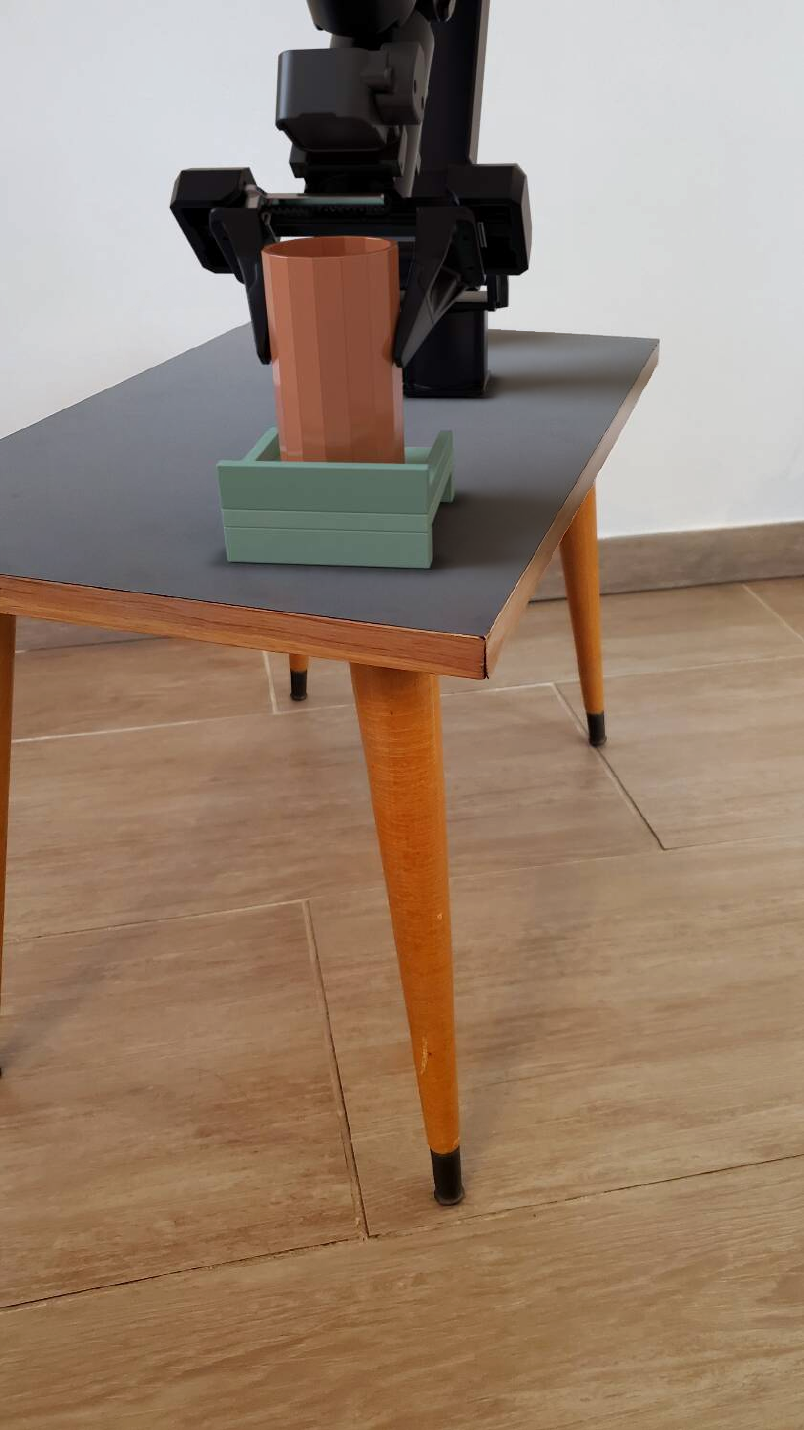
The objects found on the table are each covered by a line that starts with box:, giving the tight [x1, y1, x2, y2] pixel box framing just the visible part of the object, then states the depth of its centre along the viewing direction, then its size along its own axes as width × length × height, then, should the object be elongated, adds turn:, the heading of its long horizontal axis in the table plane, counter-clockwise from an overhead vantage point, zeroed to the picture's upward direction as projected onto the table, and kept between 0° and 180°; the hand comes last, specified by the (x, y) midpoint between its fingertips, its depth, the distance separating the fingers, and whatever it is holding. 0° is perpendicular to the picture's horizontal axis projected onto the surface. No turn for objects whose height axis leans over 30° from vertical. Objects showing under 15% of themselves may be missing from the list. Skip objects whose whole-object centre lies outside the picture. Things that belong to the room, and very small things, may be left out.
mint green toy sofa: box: [215, 427, 455, 569], centre depth 62 cm, size 11×11×5 cm
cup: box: [262, 236, 405, 464], centre depth 59 cm, size 7×7×12 cm
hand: (329, 362), depth 58 cm, fingers closed on cup, 7 cm apart
